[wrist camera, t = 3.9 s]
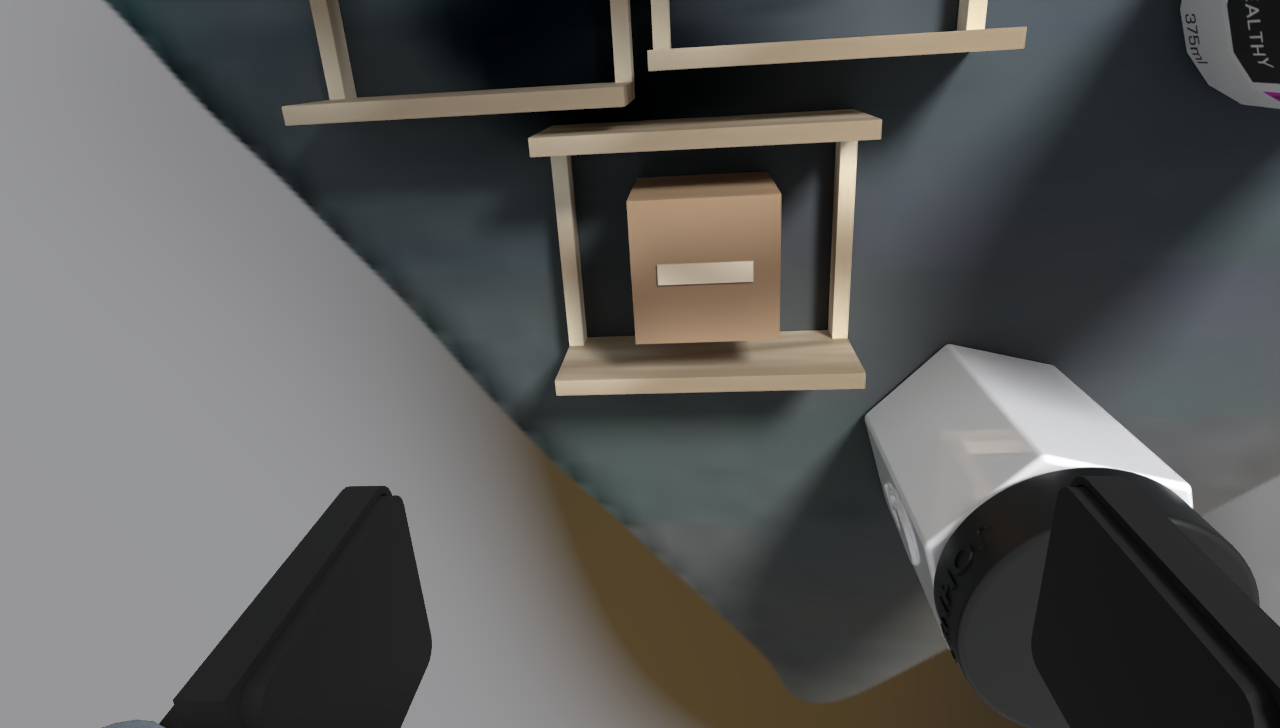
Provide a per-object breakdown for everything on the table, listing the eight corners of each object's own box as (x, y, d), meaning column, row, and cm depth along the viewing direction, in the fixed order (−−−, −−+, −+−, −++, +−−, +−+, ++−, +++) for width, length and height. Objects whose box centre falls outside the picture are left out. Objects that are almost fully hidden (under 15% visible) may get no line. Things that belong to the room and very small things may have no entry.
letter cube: (634, 177, 29) (623, 202, 24) (767, 171, 28) (781, 194, 24) (642, 300, 31) (632, 345, 26) (766, 296, 30) (779, 340, 26)
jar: (846, 369, 31) (928, 543, 20) (1048, 313, 30) (1257, 468, 19) (890, 539, 34) (983, 771, 23) (1076, 497, 33) (1268, 722, 22)
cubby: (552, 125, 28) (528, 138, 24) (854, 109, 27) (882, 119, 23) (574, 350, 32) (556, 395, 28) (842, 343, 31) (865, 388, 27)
